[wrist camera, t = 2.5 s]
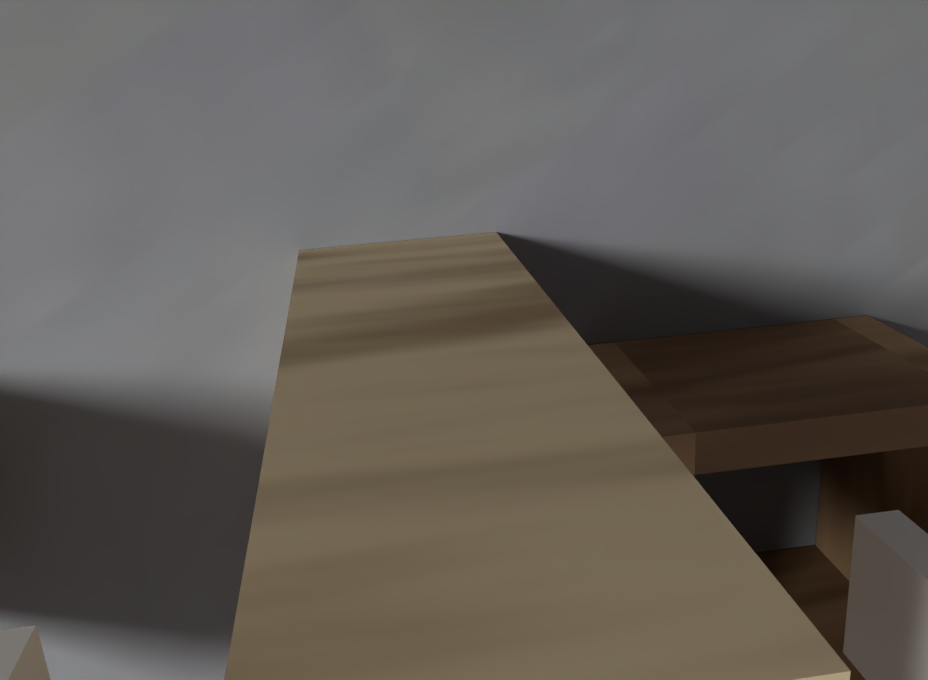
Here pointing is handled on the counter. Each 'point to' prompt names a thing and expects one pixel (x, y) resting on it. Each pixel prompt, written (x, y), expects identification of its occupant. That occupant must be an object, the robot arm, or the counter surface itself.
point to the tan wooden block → (483, 498)
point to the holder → (796, 428)
